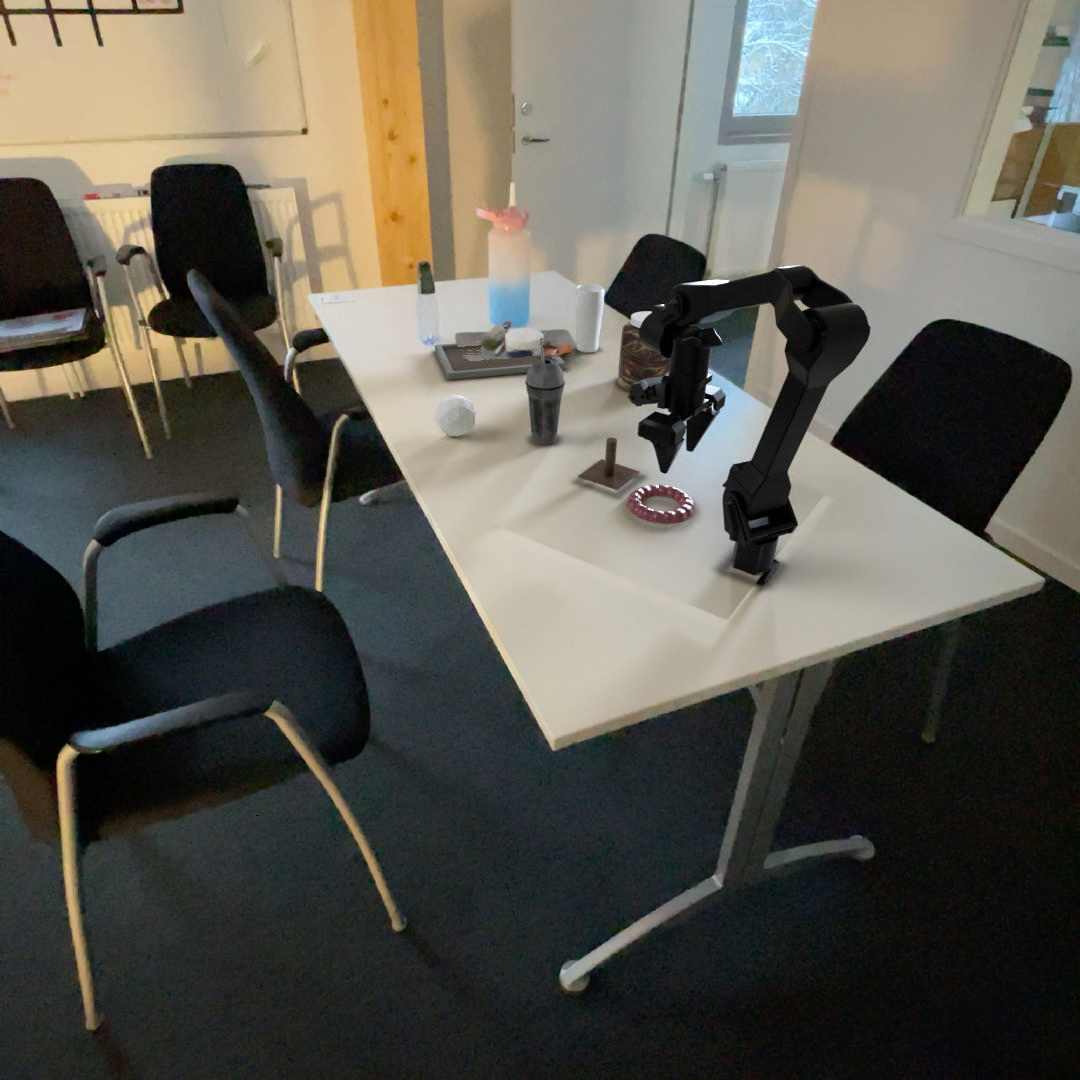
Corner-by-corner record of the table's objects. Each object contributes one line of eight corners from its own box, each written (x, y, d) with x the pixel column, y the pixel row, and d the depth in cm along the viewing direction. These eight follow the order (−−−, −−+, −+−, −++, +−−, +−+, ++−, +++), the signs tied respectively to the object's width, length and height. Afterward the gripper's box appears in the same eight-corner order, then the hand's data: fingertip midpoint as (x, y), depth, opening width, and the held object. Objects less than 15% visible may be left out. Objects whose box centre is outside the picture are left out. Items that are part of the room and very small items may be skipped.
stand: (617, 496, 125) (620, 455, 120) (577, 482, 128) (579, 441, 124) (640, 477, 130) (644, 437, 126) (601, 464, 134) (603, 425, 130)
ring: (674, 537, 115) (676, 524, 113) (614, 515, 120) (615, 502, 118) (704, 507, 122) (706, 495, 121) (646, 488, 127) (647, 475, 126)
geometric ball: (464, 450, 144) (468, 430, 136) (426, 432, 143) (428, 412, 136) (480, 419, 147) (485, 398, 139) (443, 402, 146) (446, 380, 139)
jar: (666, 374, 170) (673, 308, 162) (675, 394, 161) (683, 326, 152) (614, 374, 170) (619, 308, 162) (621, 394, 160) (626, 325, 152)
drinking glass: (583, 343, 187) (586, 282, 179) (606, 349, 184) (610, 287, 176) (568, 350, 183) (570, 288, 174) (591, 356, 179) (594, 293, 171)
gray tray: (434, 344, 180) (553, 335, 187) (434, 351, 181) (553, 341, 188) (447, 373, 165) (576, 362, 172) (448, 380, 166) (576, 368, 172)
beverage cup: (570, 439, 142) (575, 336, 131) (545, 452, 138) (547, 346, 126) (543, 428, 146) (544, 327, 135) (517, 439, 142) (516, 336, 130)
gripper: (669, 340, 121) (659, 428, 130) (610, 374, 108) (603, 469, 117) (733, 355, 116) (719, 445, 124) (679, 392, 103) (667, 490, 112)
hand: (677, 461), depth 119 cm, fingers open, 9 cm apart
